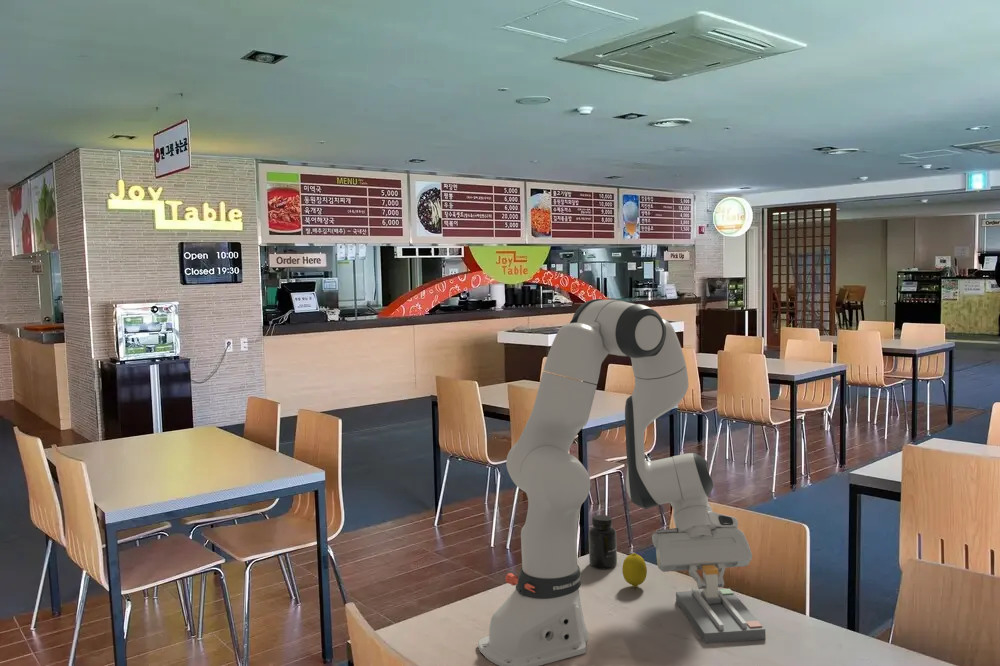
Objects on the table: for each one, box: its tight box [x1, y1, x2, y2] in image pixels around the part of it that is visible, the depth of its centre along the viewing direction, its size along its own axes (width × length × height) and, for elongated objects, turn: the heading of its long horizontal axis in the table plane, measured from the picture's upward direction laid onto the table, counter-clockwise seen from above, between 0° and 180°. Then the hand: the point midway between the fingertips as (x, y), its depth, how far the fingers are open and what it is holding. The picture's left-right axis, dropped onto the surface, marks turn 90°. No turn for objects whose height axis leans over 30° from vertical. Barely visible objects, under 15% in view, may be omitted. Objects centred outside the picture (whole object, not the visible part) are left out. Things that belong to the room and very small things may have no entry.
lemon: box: [621, 552, 648, 588], centre depth 181 cm, size 6×6×8 cm
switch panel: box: [675, 587, 766, 644], centre depth 163 cm, size 20×12×3 cm, turn 3°
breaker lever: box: [701, 565, 721, 604], centre depth 167 cm, size 4×3×7 cm
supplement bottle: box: [588, 514, 618, 570], centre depth 195 cm, size 7×7×12 cm
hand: (711, 587), depth 166 cm, fingers closed on breaker lever, 2 cm apart
